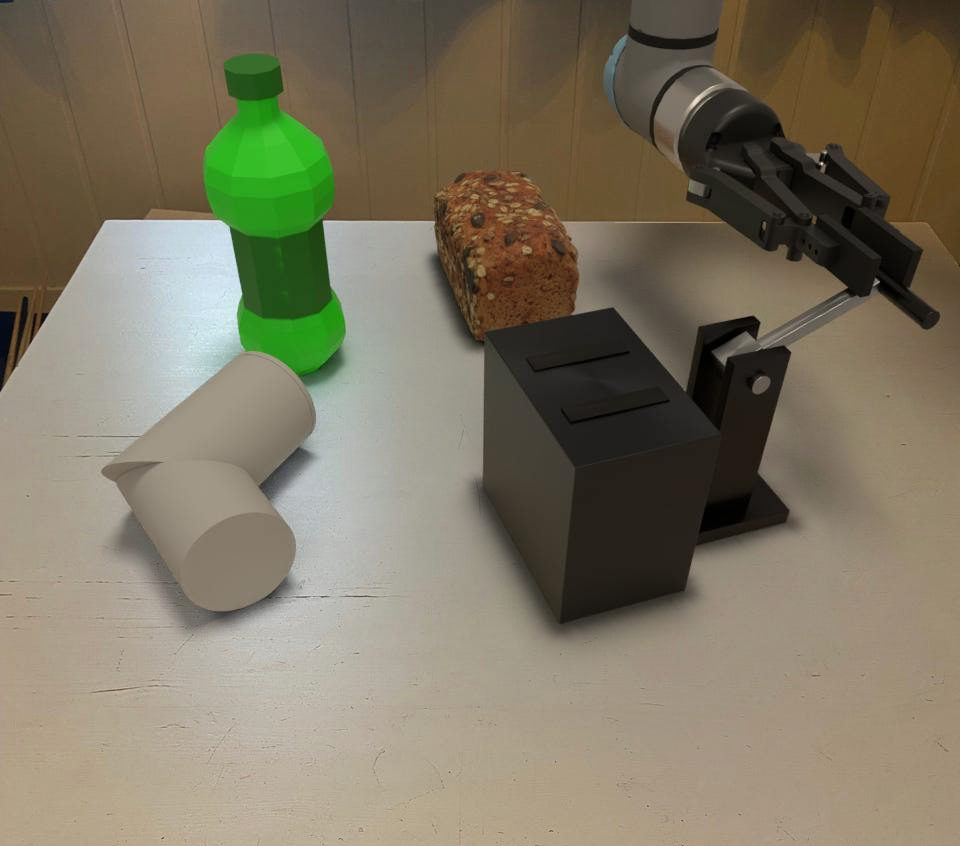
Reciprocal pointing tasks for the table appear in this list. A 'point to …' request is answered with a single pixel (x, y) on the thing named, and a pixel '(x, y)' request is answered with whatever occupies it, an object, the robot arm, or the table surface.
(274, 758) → the table surface
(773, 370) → the lever bracket
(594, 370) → the toaster
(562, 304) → the bread
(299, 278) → the plastic bottle
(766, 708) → the table surface
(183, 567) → the elbow connector
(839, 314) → the lever
